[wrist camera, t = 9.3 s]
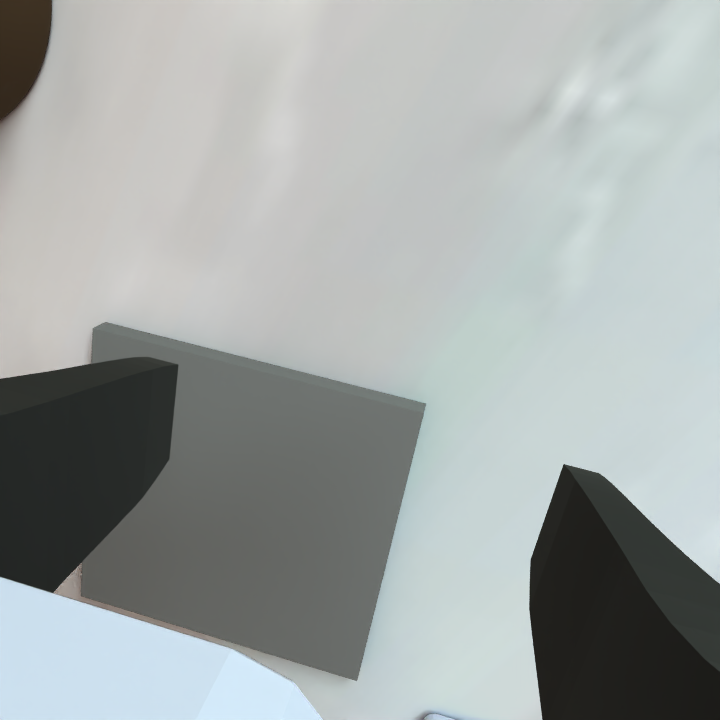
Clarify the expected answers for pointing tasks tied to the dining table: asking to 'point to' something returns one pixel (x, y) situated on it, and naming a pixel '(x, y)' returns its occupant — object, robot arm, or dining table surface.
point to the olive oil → (21, 47)
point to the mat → (261, 506)
